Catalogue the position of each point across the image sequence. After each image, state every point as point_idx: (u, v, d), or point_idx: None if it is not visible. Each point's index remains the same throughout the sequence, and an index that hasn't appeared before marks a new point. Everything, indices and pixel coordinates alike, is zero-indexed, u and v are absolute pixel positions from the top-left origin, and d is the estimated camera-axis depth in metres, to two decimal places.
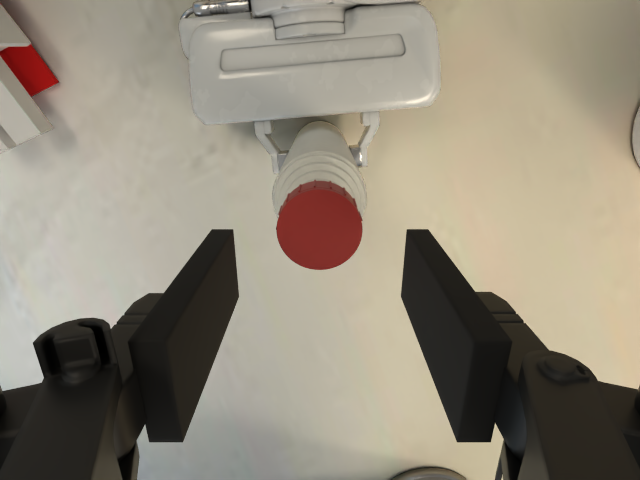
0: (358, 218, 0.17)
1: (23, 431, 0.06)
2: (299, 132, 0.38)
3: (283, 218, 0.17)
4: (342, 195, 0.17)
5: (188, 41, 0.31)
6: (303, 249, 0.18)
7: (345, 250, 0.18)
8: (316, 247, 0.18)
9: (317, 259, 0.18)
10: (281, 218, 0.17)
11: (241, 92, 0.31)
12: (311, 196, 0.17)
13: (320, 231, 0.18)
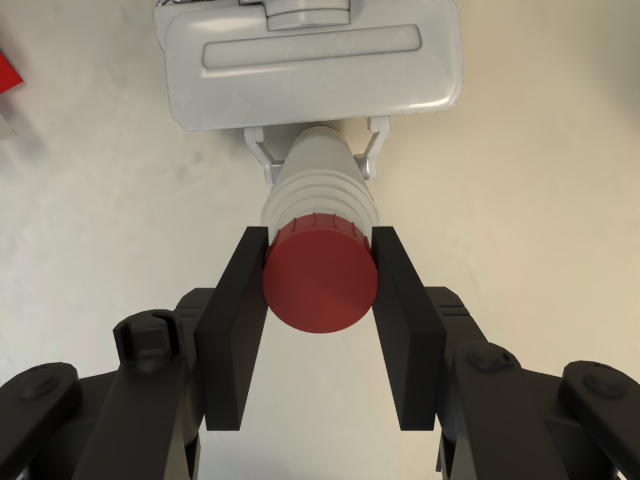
0: (373, 267, 0.13)
1: (103, 413, 0.06)
2: (296, 139, 0.33)
3: (270, 267, 0.13)
4: (352, 237, 0.12)
5: (165, 33, 0.26)
6: (298, 307, 0.13)
7: (355, 309, 0.13)
8: (315, 305, 0.13)
9: (317, 320, 0.13)
10: (267, 267, 0.13)
11: (227, 93, 0.26)
12: (309, 238, 0.12)
13: (321, 284, 0.13)
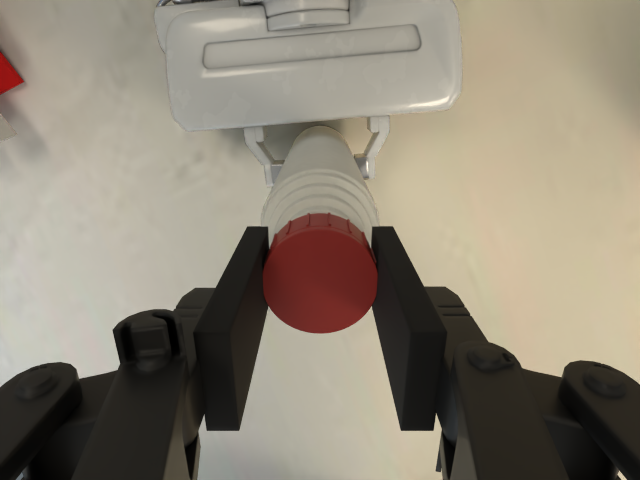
0: (300, 235, 0.12)
1: (103, 413, 0.06)
2: (296, 139, 0.33)
3: (302, 325, 0.13)
4: (269, 255, 0.13)
5: (165, 33, 0.26)
6: (346, 303, 0.13)
7: (349, 250, 0.12)
8: (343, 288, 0.13)
9: (362, 286, 0.13)
10: (302, 327, 0.13)
11: (227, 93, 0.26)
12: (271, 293, 0.13)
13: (320, 283, 0.13)
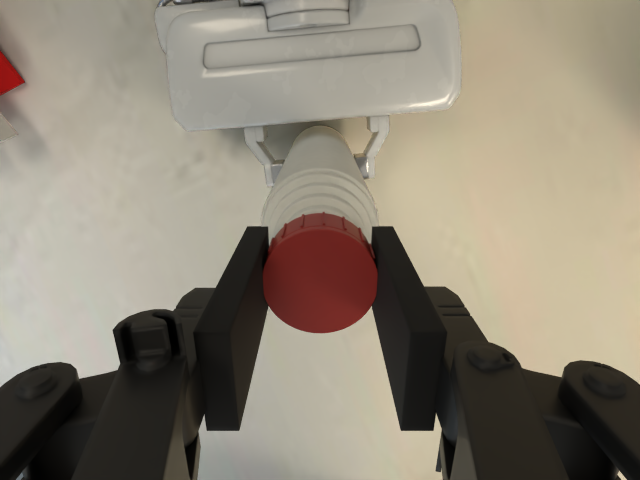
0: (268, 300, 0.13)
1: (103, 413, 0.06)
2: (296, 138, 0.33)
3: (368, 299, 0.13)
4: None
5: (166, 34, 0.26)
6: (342, 259, 0.13)
7: (282, 258, 0.13)
8: (323, 262, 0.13)
9: (322, 245, 0.12)
10: (370, 299, 0.13)
11: (228, 93, 0.27)
12: (330, 325, 0.13)
13: (318, 284, 0.13)
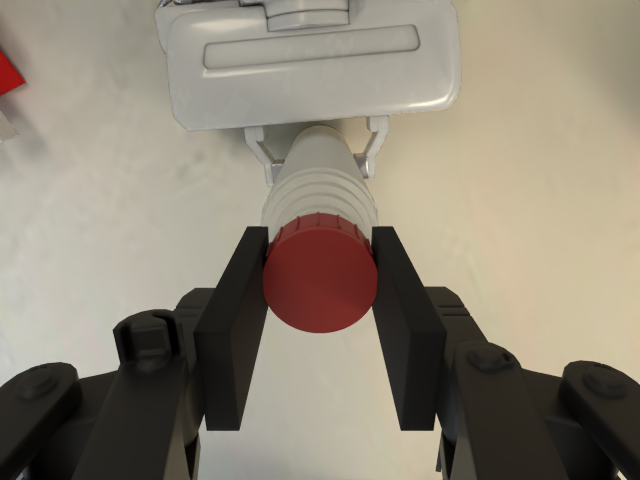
0: (338, 328, 0.13)
1: (103, 413, 0.06)
2: (296, 138, 0.33)
3: (338, 238, 0.12)
4: (368, 309, 0.13)
5: (166, 34, 0.27)
6: (292, 264, 0.13)
7: (293, 315, 0.13)
8: (296, 281, 0.13)
9: (277, 282, 0.13)
10: (338, 236, 0.12)
11: (228, 93, 0.27)
12: (369, 273, 0.13)
13: (319, 285, 0.13)
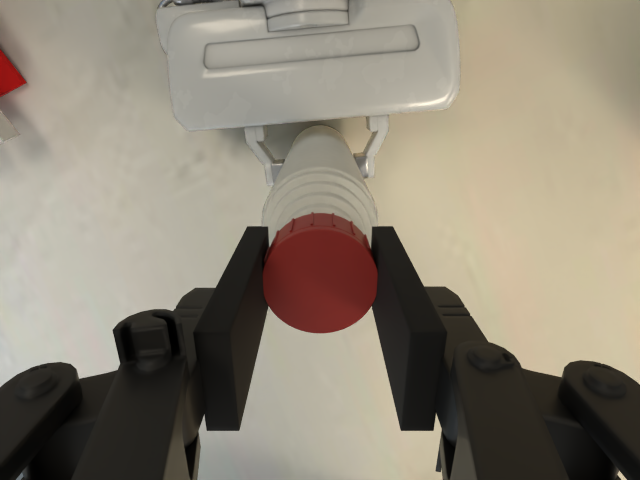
0: (373, 266, 0.13)
1: (103, 413, 0.06)
2: None
3: (270, 268, 0.13)
4: (351, 236, 0.12)
5: (167, 34, 0.27)
6: (299, 308, 0.13)
7: (356, 307, 0.13)
8: (316, 305, 0.13)
9: (318, 320, 0.13)
10: (267, 269, 0.13)
11: (228, 93, 0.27)
12: (307, 238, 0.12)
13: (321, 284, 0.13)
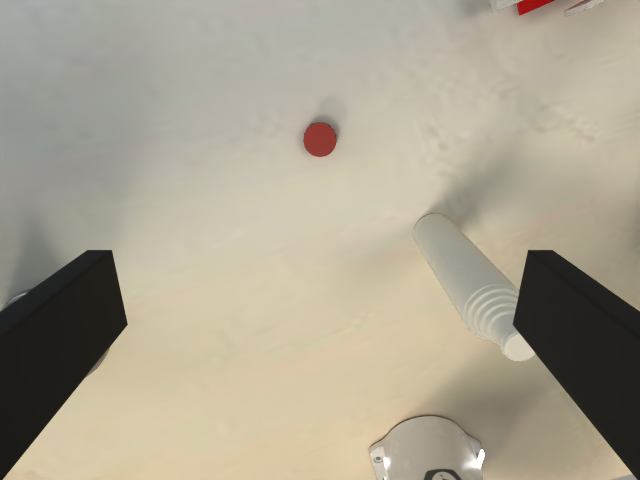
0: (334, 134, 0.46)
1: None
2: (456, 226, 0.49)
3: (306, 135, 0.46)
4: (328, 125, 0.46)
5: None
6: (314, 148, 0.47)
7: (330, 148, 0.47)
8: (319, 147, 0.47)
9: (319, 152, 0.47)
10: (305, 135, 0.46)
11: None
12: (316, 126, 0.46)
13: (320, 140, 0.46)
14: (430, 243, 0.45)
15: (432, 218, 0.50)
